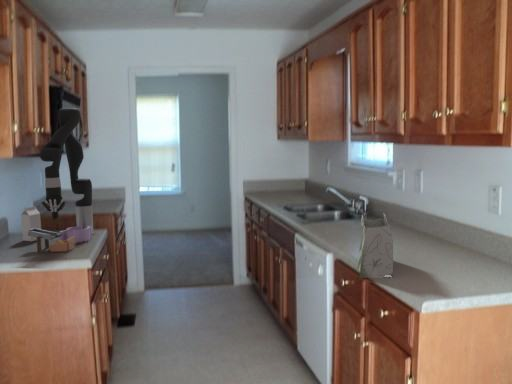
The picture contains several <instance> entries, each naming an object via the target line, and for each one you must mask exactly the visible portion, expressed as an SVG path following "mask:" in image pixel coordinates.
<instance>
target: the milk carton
mask: <svg viewBox="0 0 512 384" xmlns="http://www.w3.org/2000/svg"><path fill="white" fill-rule="evenodd" d="M20 216H21V227H22V228H21V230H22V241H24V242H35V241H36V242H37V237H32V236H28V231H29V229H32V228H36V229H41V230H42V220H41V213H40V211H39V210H38V208H37V206H35V205H34V206H28V207H24V210H23V211H22V213H21V215H20ZM42 239H43V238H41V240H42Z"/></svg>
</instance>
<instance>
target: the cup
mask: <svg viewBox="0 0 512 384" xmlns="http://www.w3.org/2000/svg"><path fill="white" fill-rule="evenodd" d="M58 241H63V242H64V243H57V242H58ZM75 248H76V244H75V236H73V237H71V238H69V239H67V240H61V239H60V240H59V239H57V240H56V241H55V242H53V243H49V252H70V251H72V250H73V249H75Z"/></svg>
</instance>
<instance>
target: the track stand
mask: <svg viewBox="0 0 512 384" xmlns="http://www.w3.org/2000/svg"><path fill="white" fill-rule="evenodd" d="M49 241H50V240H48V239H44V246H45V249H50V243H49ZM36 247H37V248H36V249H37V250H36V251H37V253H41V252H42V239H41V237H37V240H36Z"/></svg>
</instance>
